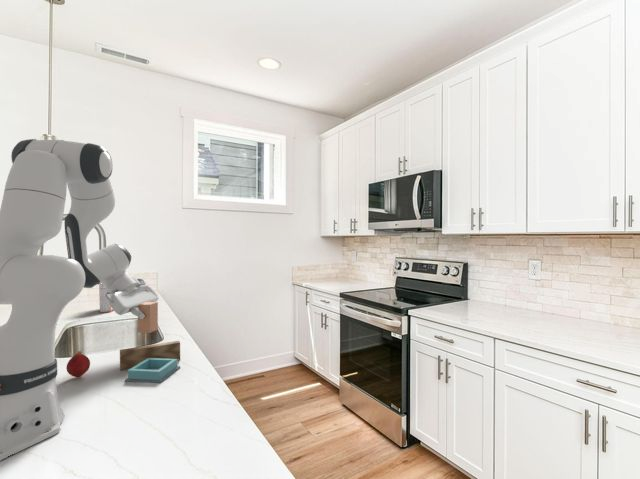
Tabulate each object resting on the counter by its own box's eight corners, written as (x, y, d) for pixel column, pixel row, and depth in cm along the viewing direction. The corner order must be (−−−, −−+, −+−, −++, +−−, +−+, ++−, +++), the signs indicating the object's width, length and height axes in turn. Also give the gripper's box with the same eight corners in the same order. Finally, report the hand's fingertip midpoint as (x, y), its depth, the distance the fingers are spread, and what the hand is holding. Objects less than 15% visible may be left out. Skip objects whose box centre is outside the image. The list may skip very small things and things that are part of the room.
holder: (160, 383, 98) (160, 372, 98) (124, 381, 99) (124, 371, 99) (180, 367, 109) (180, 358, 109) (147, 366, 110) (147, 357, 110)
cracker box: (109, 307, 199) (109, 272, 199) (120, 306, 200) (120, 272, 200) (98, 312, 185) (98, 275, 185) (110, 312, 187) (110, 274, 186)
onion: (77, 382, 98) (77, 355, 98) (61, 381, 100) (61, 354, 99) (94, 374, 104) (94, 349, 104) (79, 373, 105) (79, 347, 105)
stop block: (150, 332, 118) (150, 304, 118) (137, 332, 119) (137, 304, 119) (157, 329, 123) (157, 302, 123) (145, 329, 123) (145, 301, 123)
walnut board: (179, 357, 118) (179, 340, 118) (180, 359, 116) (180, 342, 116) (119, 368, 109) (119, 349, 109) (119, 370, 107) (119, 352, 107)
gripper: (109, 286, 111) (136, 316, 110) (147, 278, 131) (170, 304, 130) (96, 299, 111) (124, 329, 110) (136, 290, 132) (159, 315, 131)
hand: (149, 315), depth 121 cm, fingers closed on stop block, 5 cm apart
